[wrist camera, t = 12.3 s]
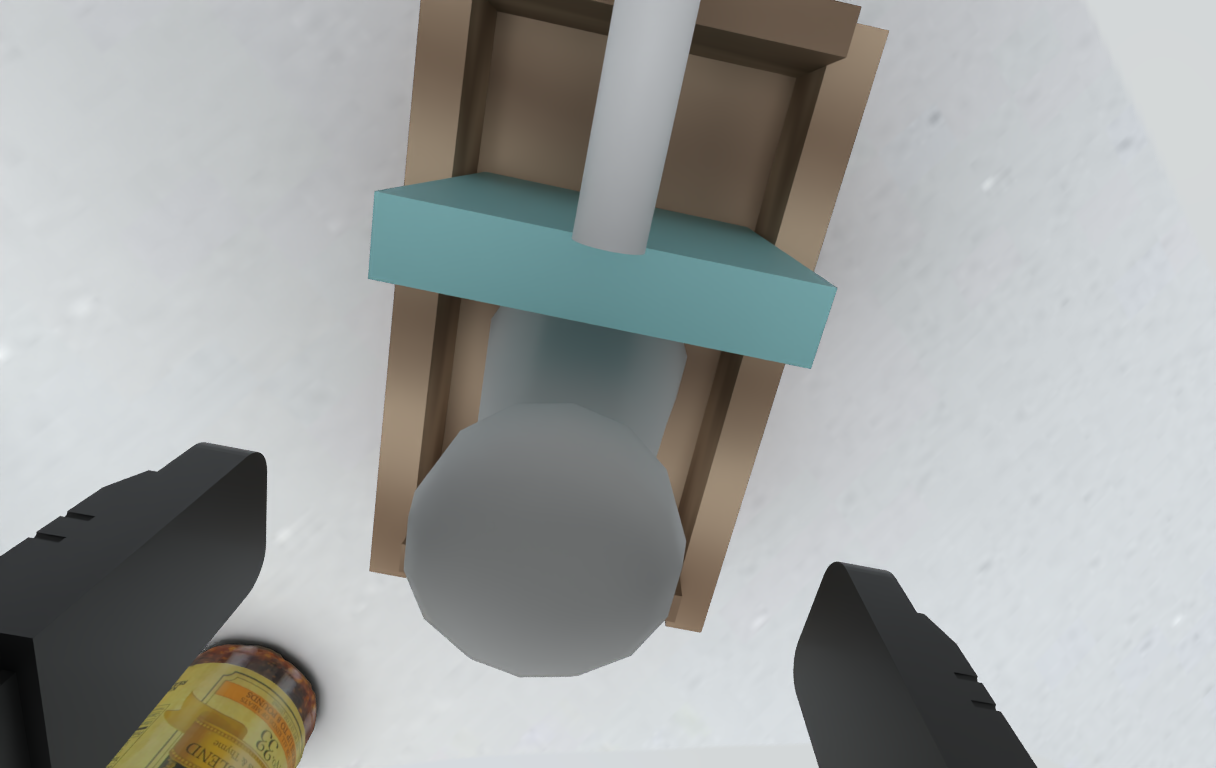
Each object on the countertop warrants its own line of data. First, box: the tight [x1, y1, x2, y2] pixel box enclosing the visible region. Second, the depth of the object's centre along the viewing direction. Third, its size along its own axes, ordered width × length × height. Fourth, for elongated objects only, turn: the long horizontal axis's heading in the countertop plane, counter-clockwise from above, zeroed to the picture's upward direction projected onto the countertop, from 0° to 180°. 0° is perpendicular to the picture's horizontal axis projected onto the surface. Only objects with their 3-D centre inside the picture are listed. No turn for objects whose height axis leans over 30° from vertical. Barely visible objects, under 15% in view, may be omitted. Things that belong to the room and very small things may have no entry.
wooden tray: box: [369, 0, 889, 632], centre depth 19 cm, size 18×11×6 cm, turn 169°
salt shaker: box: [404, 306, 687, 677], centre depth 15 cm, size 6×6×13 cm
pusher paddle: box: [368, 0, 837, 369], centre depth 14 cm, size 8×8×10 cm
